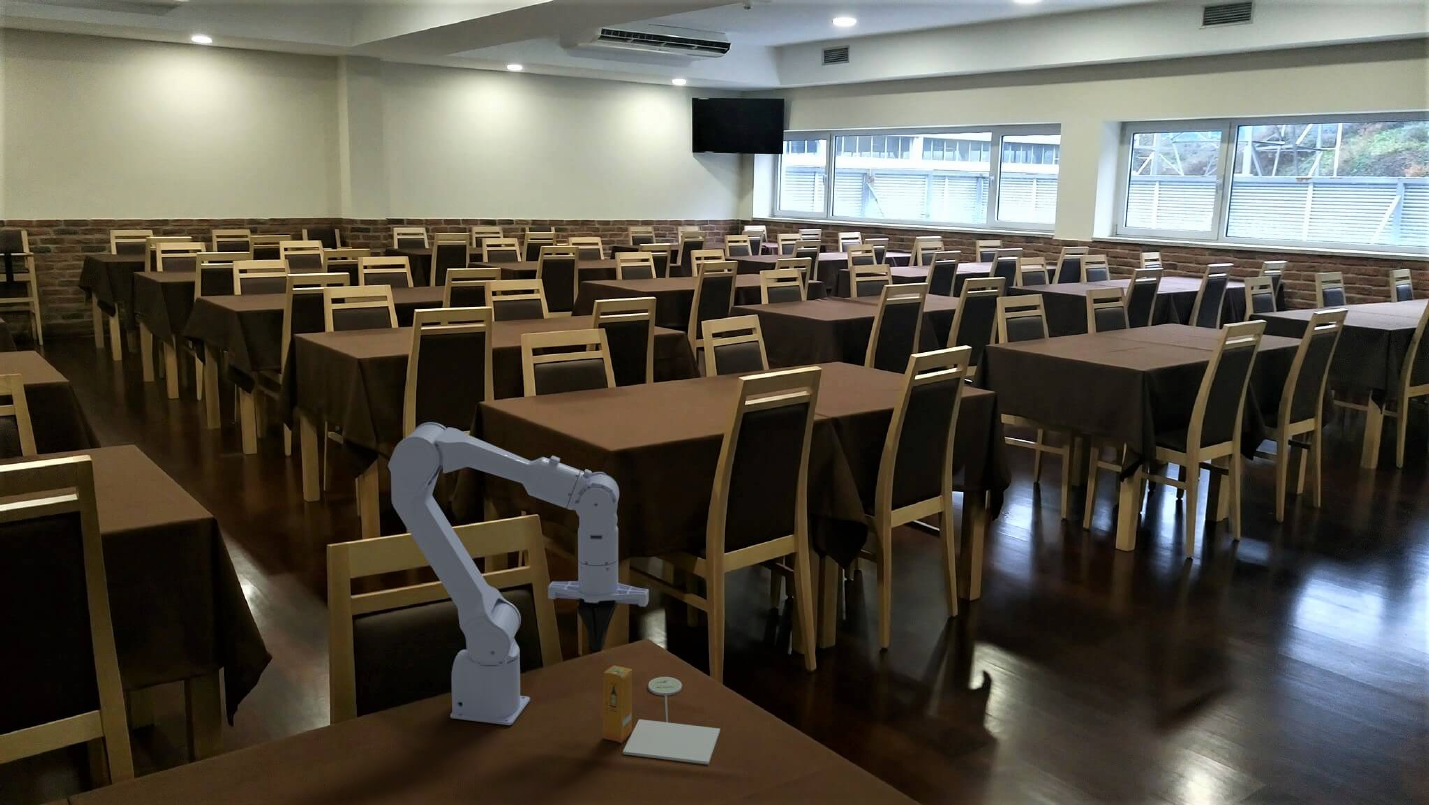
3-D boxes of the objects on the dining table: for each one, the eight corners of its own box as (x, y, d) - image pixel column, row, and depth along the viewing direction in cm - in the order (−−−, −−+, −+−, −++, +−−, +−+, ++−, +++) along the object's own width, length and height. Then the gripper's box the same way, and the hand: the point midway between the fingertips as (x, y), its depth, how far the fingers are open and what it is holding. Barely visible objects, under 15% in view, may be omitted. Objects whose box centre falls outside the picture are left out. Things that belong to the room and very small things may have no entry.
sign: (649, 726, 150) (648, 676, 165) (648, 732, 150) (648, 681, 165) (685, 726, 151) (681, 676, 165) (684, 732, 151) (681, 681, 165)
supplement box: (633, 733, 149) (634, 668, 147) (621, 744, 146) (622, 678, 144) (613, 727, 150) (614, 663, 148) (601, 738, 147) (601, 673, 145)
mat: (622, 754, 143) (622, 751, 143) (639, 721, 152) (639, 719, 152) (708, 764, 141) (708, 761, 141) (720, 731, 150) (720, 728, 150)
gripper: (540, 564, 147) (542, 654, 150) (640, 572, 145) (640, 663, 147) (556, 548, 154) (557, 634, 156) (652, 555, 151) (651, 642, 154)
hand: (598, 647), depth 152 cm, fingers closed
